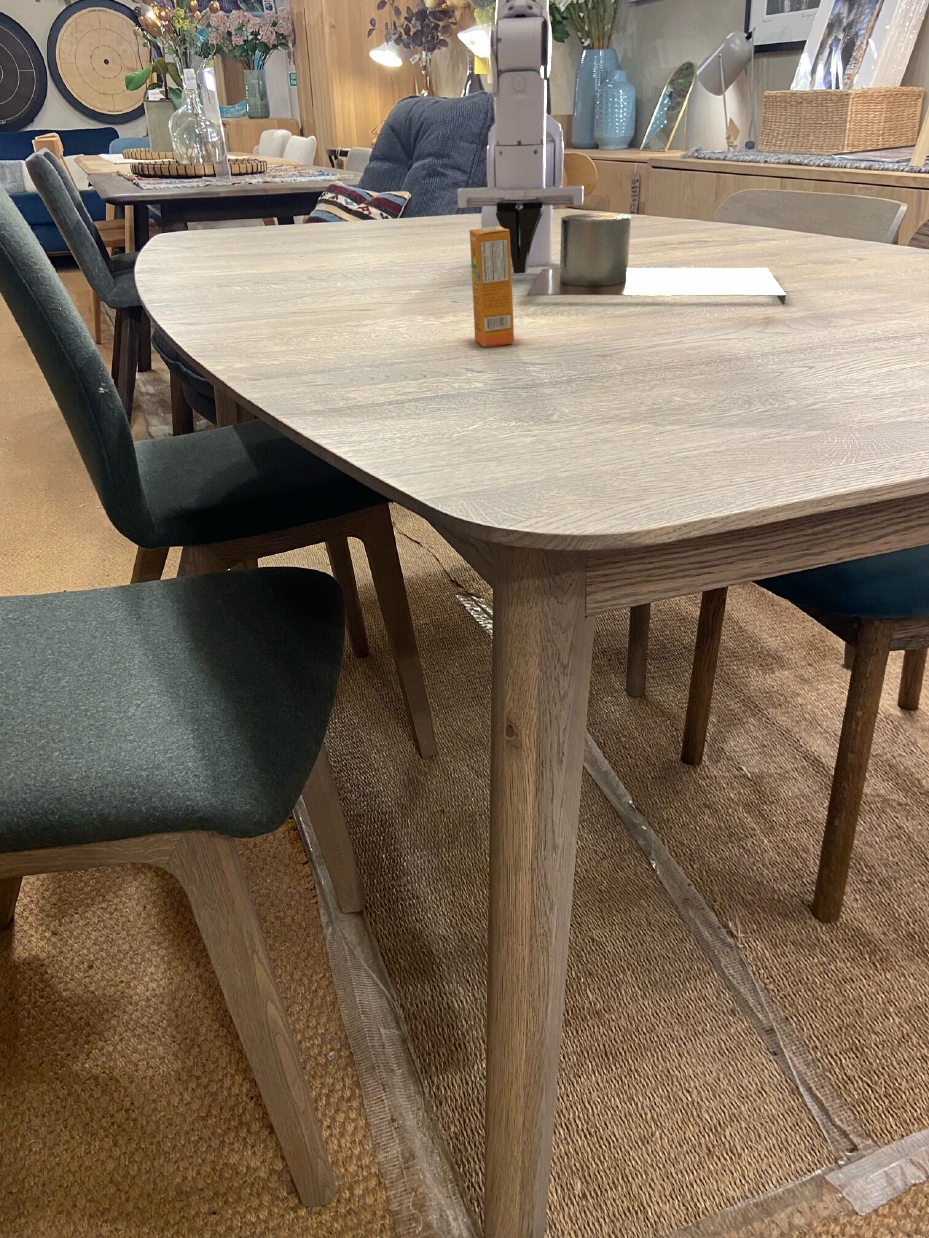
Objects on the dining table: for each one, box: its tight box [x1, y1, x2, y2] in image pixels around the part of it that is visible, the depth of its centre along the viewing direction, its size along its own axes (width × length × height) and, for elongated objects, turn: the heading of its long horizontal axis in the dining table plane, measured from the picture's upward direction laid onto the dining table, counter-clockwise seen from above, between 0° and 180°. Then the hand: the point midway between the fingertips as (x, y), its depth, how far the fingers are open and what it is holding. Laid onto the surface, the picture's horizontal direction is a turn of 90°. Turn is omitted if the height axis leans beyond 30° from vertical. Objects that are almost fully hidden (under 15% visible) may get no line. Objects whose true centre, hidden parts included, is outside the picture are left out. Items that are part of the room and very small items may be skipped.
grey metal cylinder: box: [559, 212, 632, 286], centre depth 104 cm, size 8×8×7 cm
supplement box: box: [468, 226, 515, 348], centre depth 82 cm, size 3×3×10 cm
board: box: [526, 267, 787, 305], centre depth 105 cm, size 28×18×1 cm, turn 80°
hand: (520, 272), depth 107 cm, fingers closed
